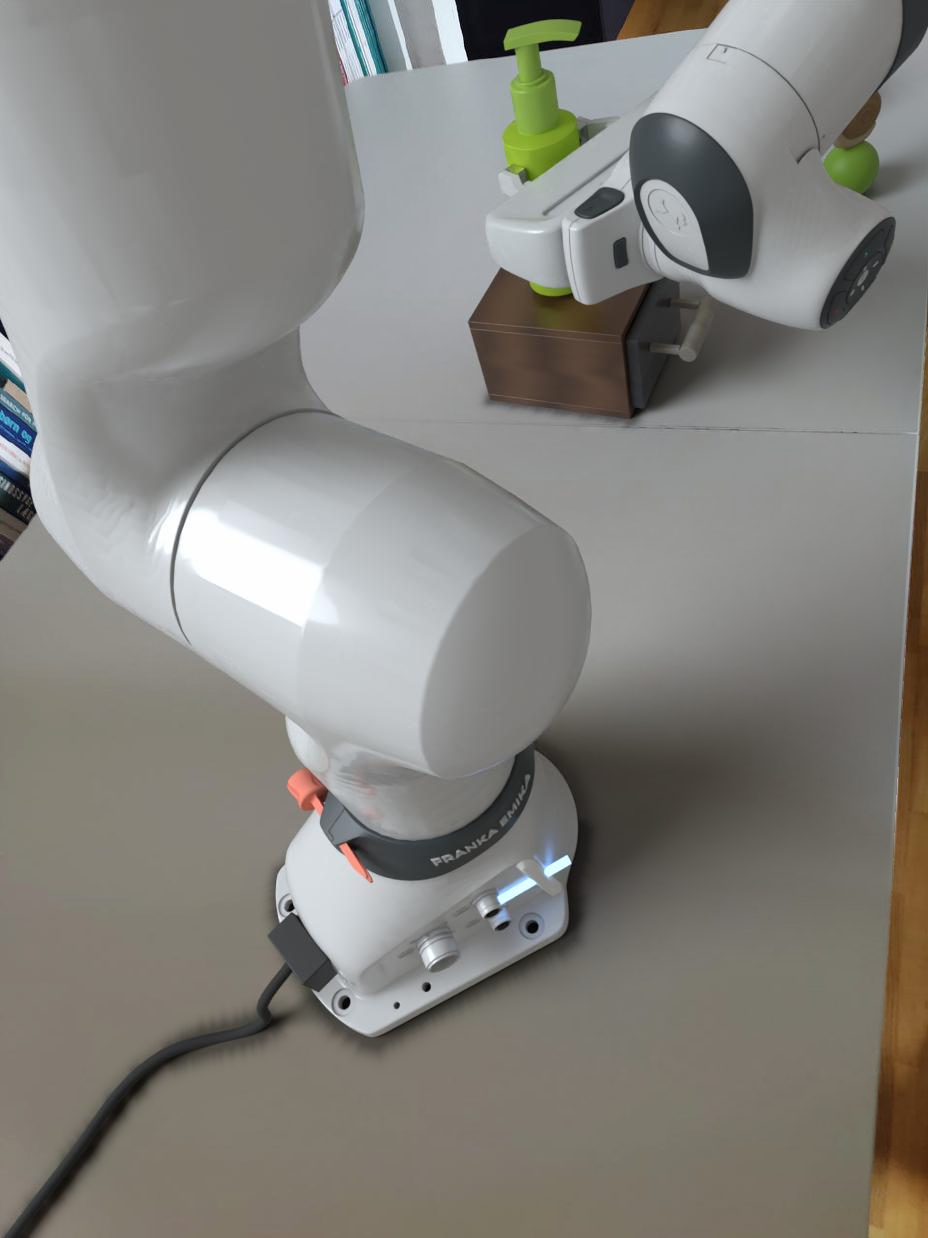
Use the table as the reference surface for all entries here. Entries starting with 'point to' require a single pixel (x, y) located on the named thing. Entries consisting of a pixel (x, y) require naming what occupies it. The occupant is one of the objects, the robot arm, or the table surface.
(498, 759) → the robot arm
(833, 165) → the snail figurine
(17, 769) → the table surface
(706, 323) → the drawer
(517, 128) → the soap dispenser
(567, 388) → the cabinet
